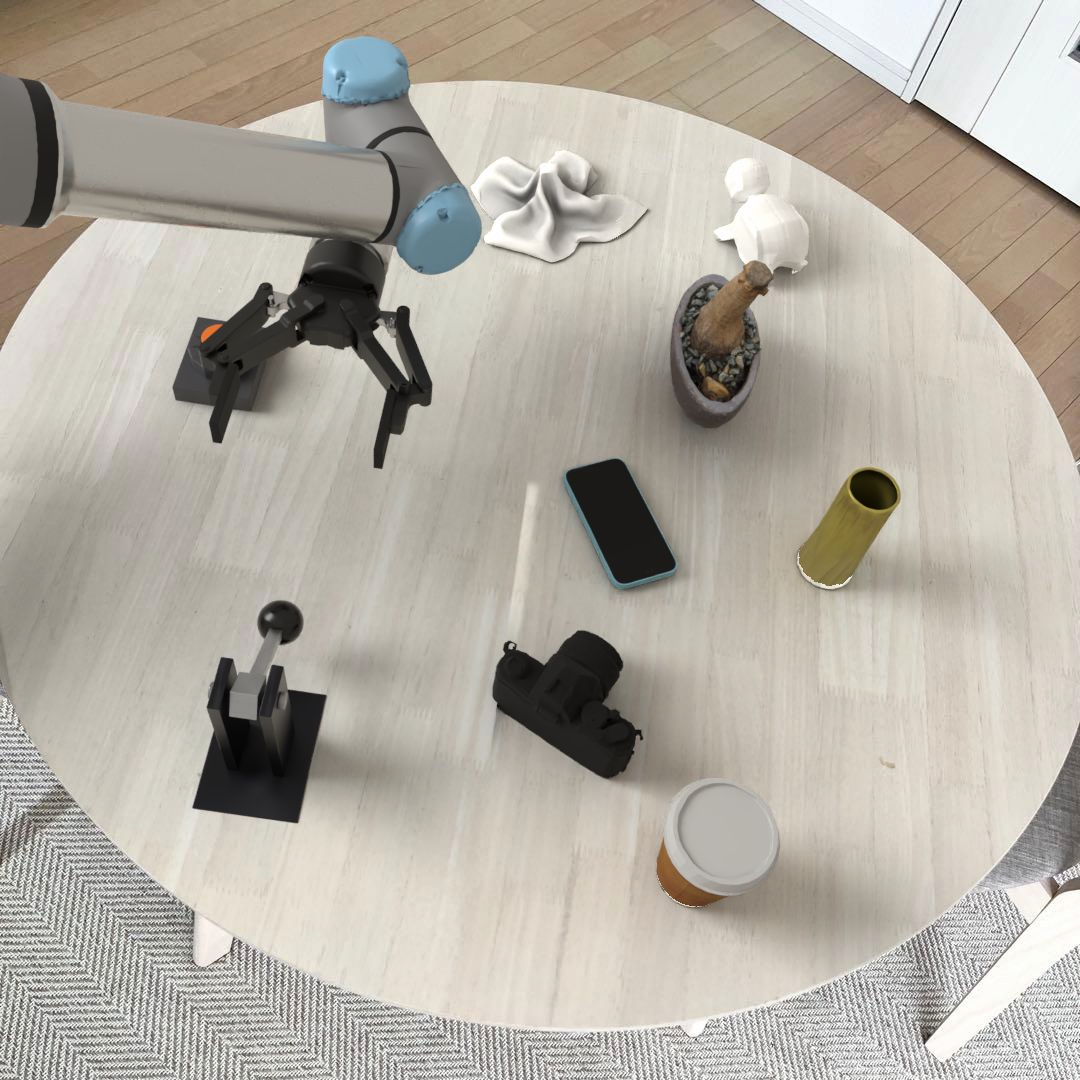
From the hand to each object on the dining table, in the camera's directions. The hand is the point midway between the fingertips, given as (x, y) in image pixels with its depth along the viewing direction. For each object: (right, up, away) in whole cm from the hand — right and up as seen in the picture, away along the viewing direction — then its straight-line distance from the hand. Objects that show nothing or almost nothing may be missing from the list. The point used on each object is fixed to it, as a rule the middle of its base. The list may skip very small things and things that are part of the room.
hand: (296, 446), depth 94 cm
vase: (+50, -10, +24) cm, 56 cm away
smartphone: (+28, -6, +24) cm, 37 cm away
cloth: (+22, +34, +48) cm, 63 cm away
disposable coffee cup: (+34, -37, +6) cm, 50 cm away
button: (-13, +12, +25) cm, 31 cm away
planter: (+38, +9, +35) cm, 53 cm away
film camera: (+23, -24, +12) cm, 35 cm away
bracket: (-4, -27, +6) cm, 28 cm away
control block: (-14, +11, +28) cm, 33 cm away
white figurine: (+47, +29, +48) cm, 73 cm away
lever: (-3, -19, +1) cm, 19 cm away
